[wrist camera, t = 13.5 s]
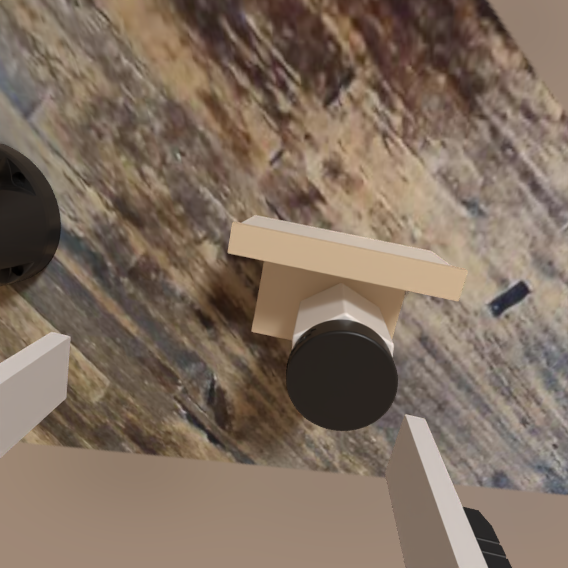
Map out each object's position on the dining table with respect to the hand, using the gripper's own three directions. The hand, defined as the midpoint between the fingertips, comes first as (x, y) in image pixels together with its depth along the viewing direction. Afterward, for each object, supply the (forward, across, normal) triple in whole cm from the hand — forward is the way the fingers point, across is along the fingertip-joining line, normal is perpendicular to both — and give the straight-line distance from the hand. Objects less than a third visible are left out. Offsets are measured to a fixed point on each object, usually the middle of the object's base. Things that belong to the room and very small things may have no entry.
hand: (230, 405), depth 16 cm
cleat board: (+28, +5, -2) cm, 29 cm away
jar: (+26, +7, -5) cm, 27 cm away
